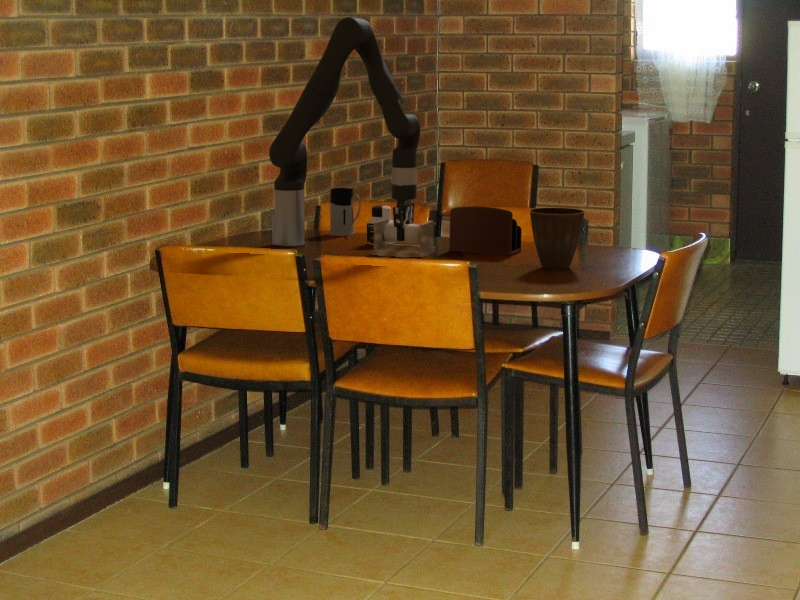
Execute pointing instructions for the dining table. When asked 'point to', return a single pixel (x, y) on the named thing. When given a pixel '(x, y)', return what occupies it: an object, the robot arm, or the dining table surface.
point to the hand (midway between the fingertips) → (403, 239)
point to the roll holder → (399, 249)
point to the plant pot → (556, 235)
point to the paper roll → (410, 233)
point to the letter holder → (484, 231)
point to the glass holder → (342, 212)
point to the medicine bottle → (377, 215)
